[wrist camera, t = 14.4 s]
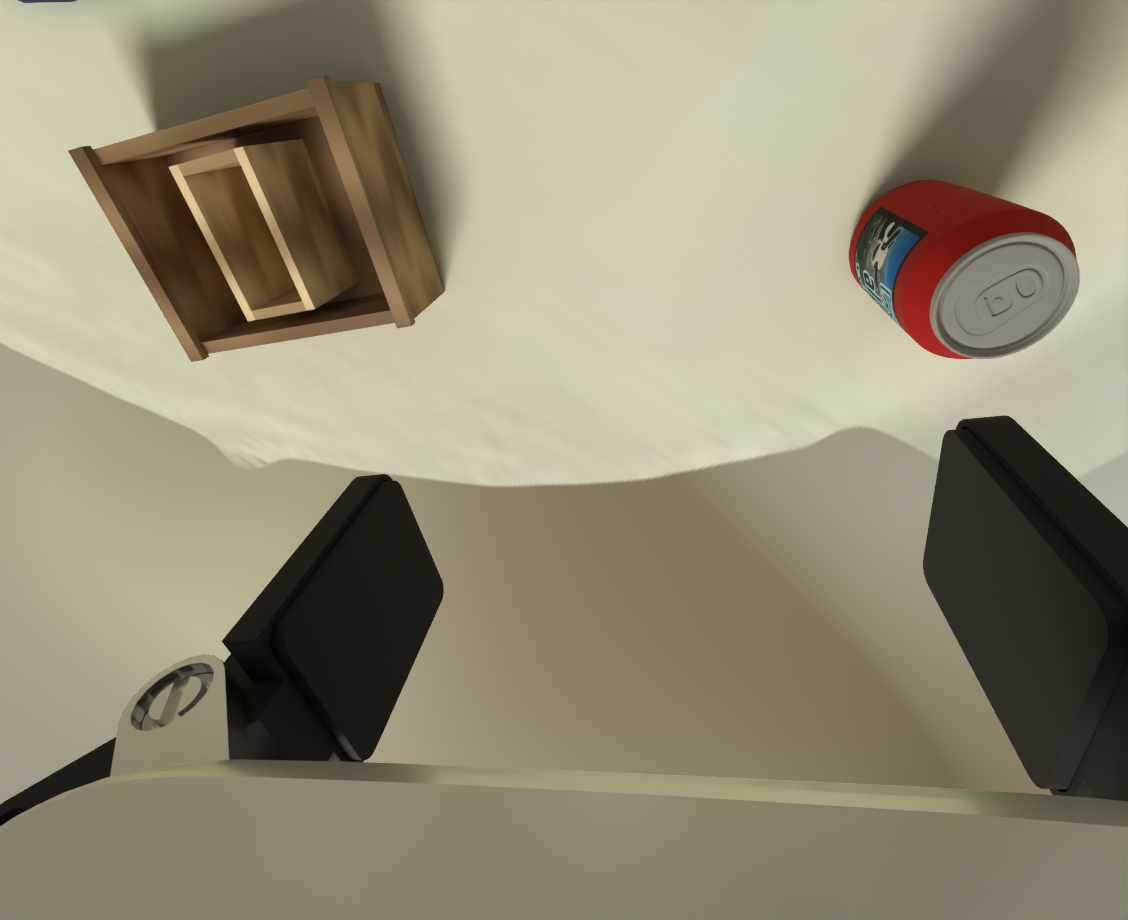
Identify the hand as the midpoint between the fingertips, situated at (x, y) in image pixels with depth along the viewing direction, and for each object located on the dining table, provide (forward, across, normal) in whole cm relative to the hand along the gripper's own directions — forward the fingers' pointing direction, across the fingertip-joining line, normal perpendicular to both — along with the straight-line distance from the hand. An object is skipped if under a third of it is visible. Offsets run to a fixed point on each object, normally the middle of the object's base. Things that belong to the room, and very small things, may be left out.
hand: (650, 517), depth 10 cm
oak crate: (+30, +24, -4) cm, 38 cm away
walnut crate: (+30, +24, -4) cm, 39 cm away
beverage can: (+31, -14, +4) cm, 34 cm away
